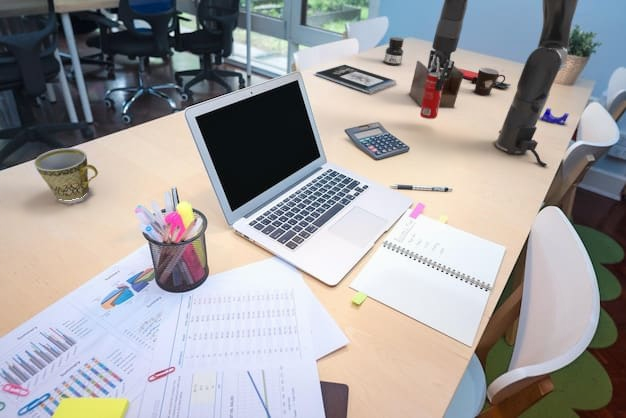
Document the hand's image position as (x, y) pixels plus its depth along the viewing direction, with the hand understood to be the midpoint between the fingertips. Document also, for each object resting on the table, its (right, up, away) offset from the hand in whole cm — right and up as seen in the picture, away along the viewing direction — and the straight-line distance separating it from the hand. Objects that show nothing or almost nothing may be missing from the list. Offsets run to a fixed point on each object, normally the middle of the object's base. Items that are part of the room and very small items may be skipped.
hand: (434, 86), depth 132 cm
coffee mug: (+36, +10, +43) cm, 57 cm away
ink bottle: (0, +34, +71) cm, 79 cm away
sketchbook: (-22, +17, +45) cm, 52 cm away
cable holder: (+54, -7, +23) cm, 59 cm away
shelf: (+8, +4, +31) cm, 32 cm away
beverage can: (-1, -9, +6) cm, 11 cm away
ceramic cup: (-96, -39, -40) cm, 111 cm away
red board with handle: (+40, +22, +59) cm, 74 cm away
